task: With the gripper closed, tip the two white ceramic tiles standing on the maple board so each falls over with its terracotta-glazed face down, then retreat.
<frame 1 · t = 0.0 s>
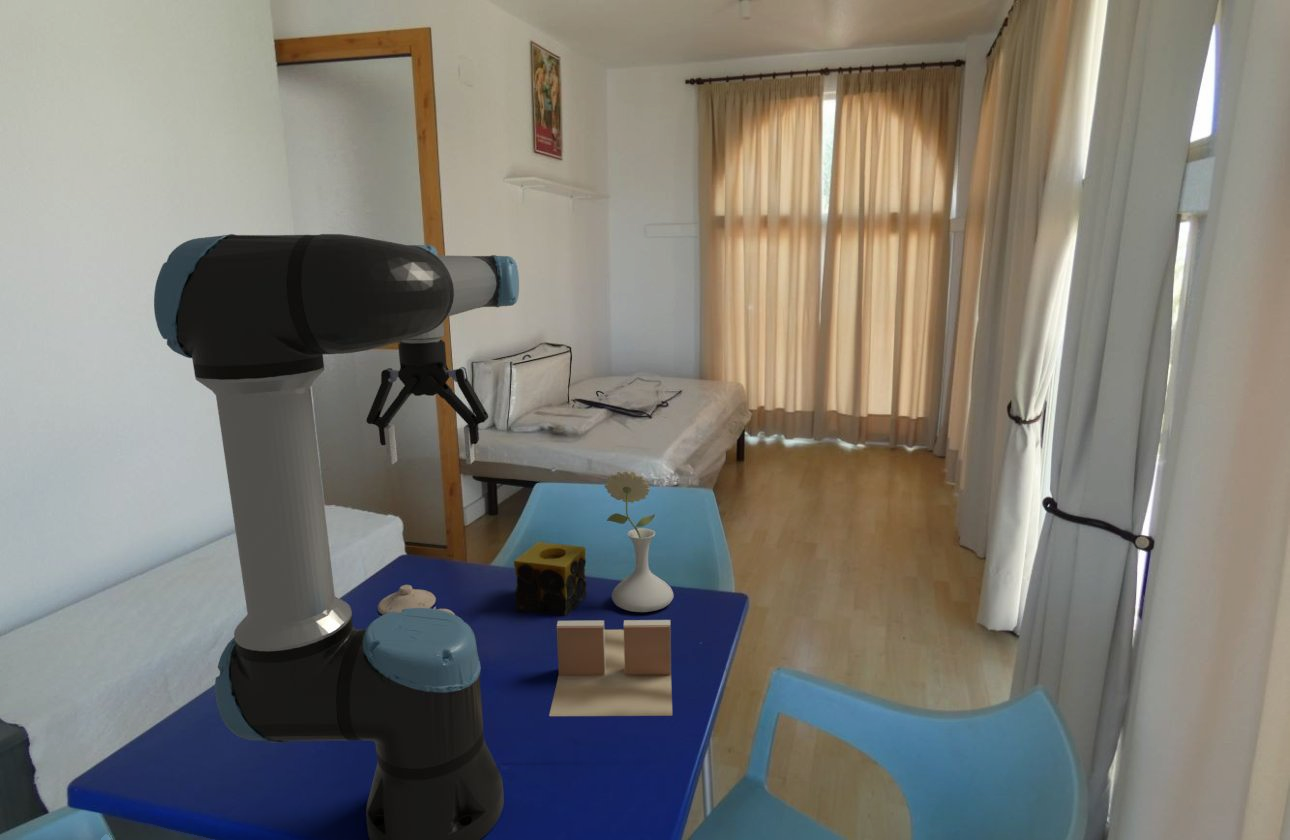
hand: (431, 462, 127), 28 cm above the table, fingers open, 13 cm apart
tile b: (647, 671, 111), point 1 cm above the table, touching board
tile a: (582, 672, 112), point 1 cm above the table, touching board
teacup with lid: (421, 653, 119), on the table
flower in vase: (638, 604, 135), on the table
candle: (552, 605, 135), on the table
board: (615, 671, 113), on the table
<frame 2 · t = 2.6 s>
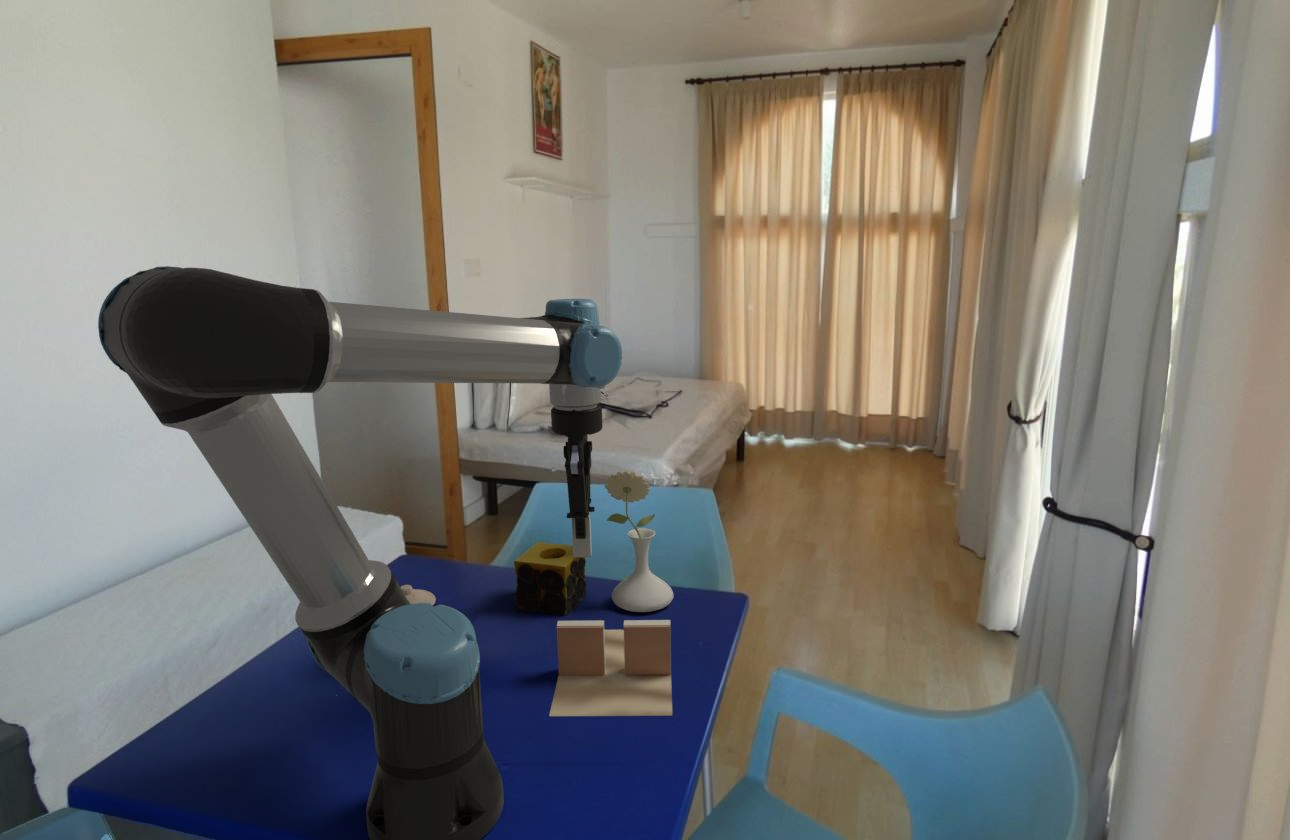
hand: (582, 555, 113), 17 cm above the table, fingers closed
nothing on the table moved.
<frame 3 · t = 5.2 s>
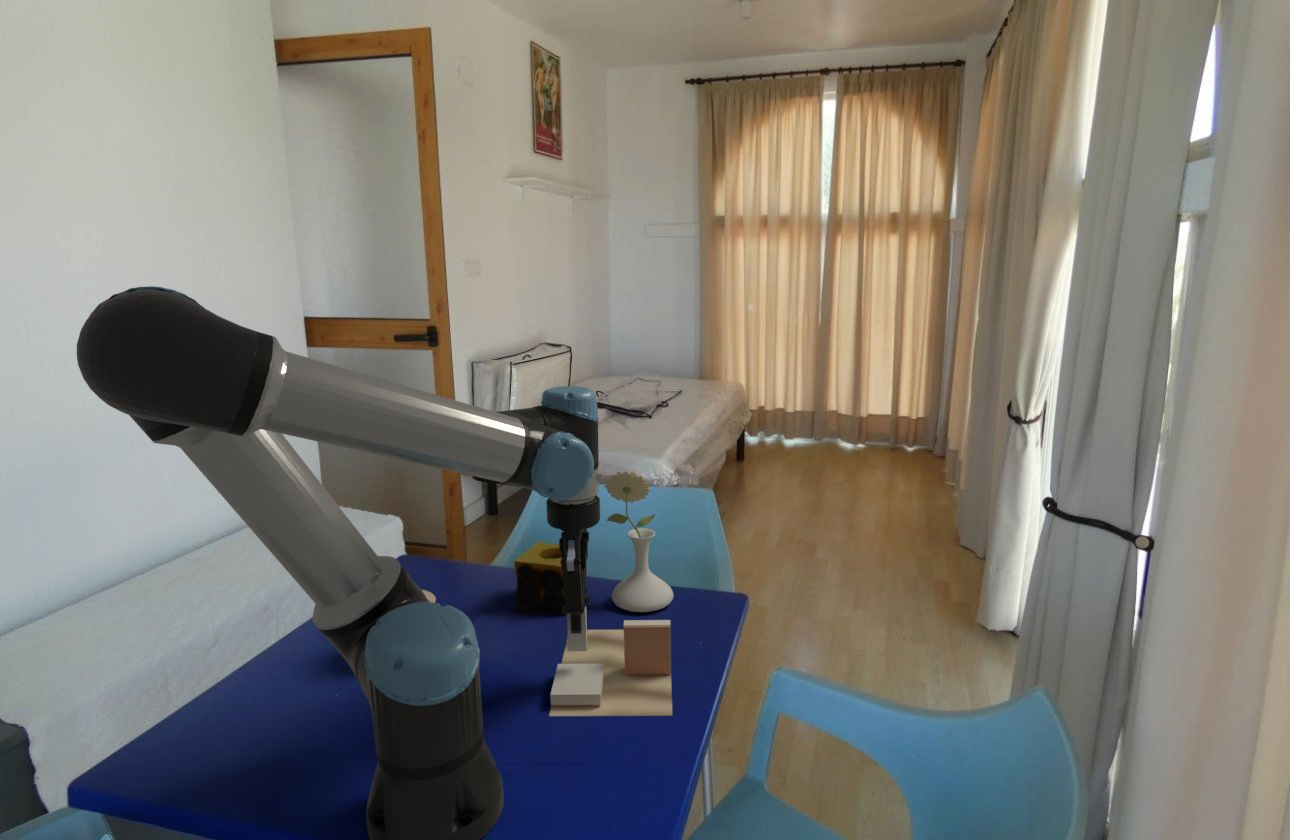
hand: (577, 648, 108), 6 cm above the table, fingers closed
tile a: (581, 669, 110), point 2 cm above the table, tilted 90°, touching board
everything else where it was.
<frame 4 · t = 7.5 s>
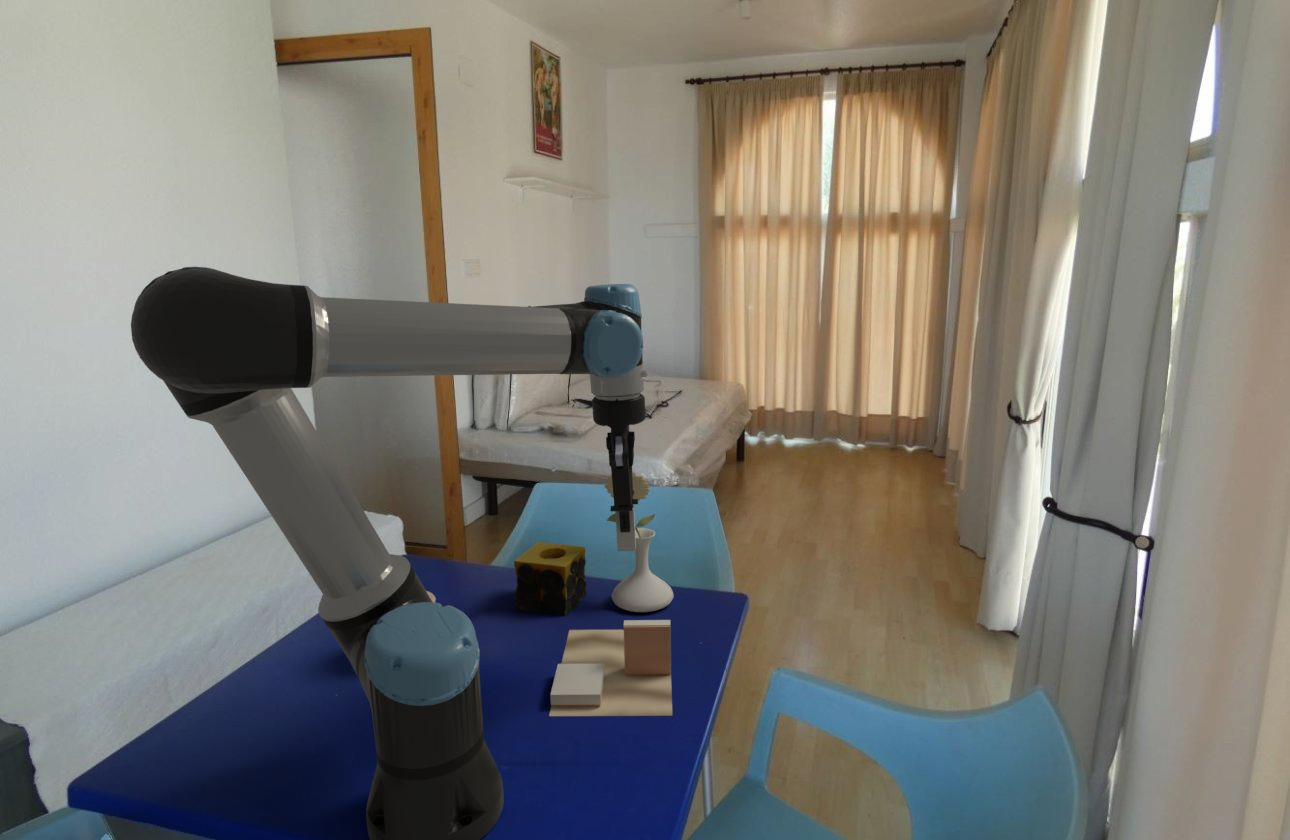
hand: (626, 548, 110), 20 cm above the table, fingers closed
nothing on the table moved.
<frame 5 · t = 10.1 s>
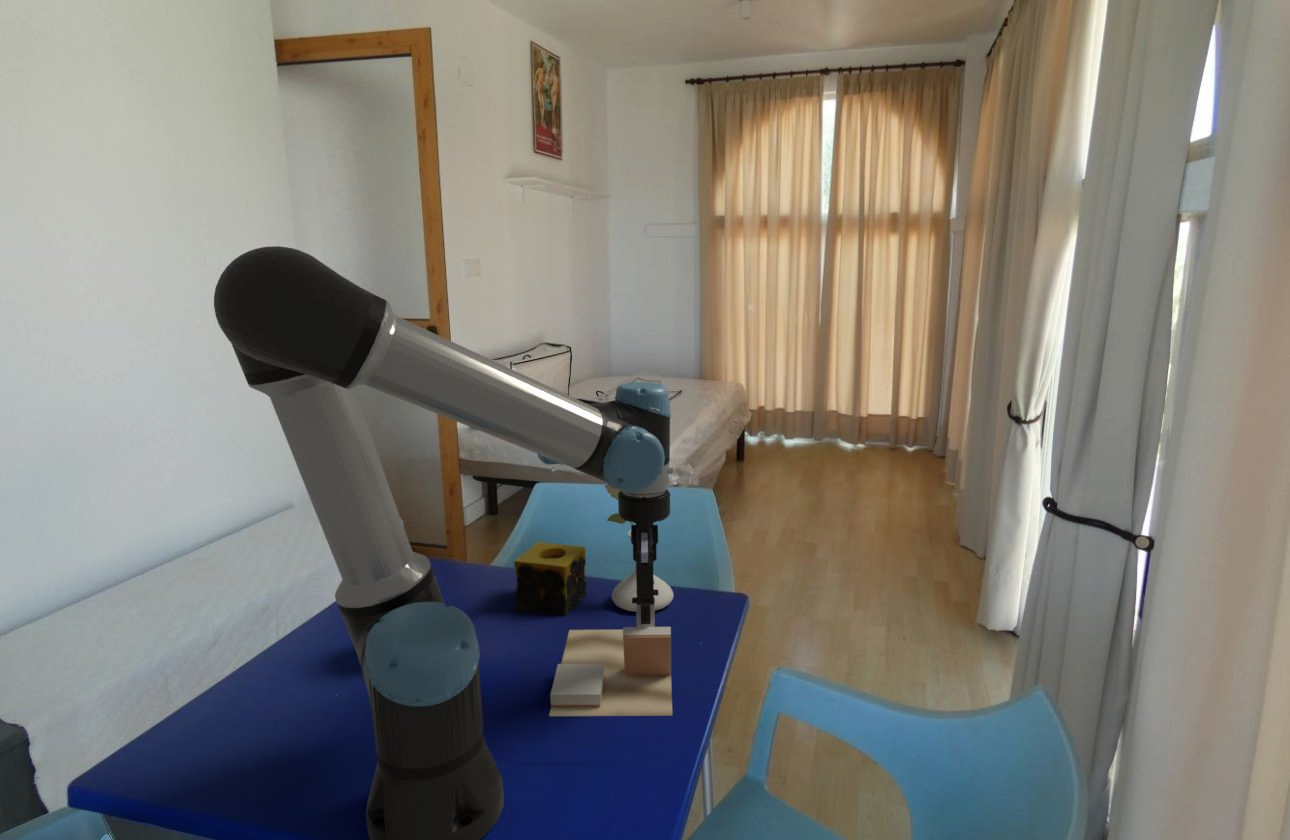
hand: (645, 639, 111), 6 cm above the table, fingers closed
tile b: (647, 670, 111), point 1 cm above the table, tilted 17°, touching board
everything else where it was.
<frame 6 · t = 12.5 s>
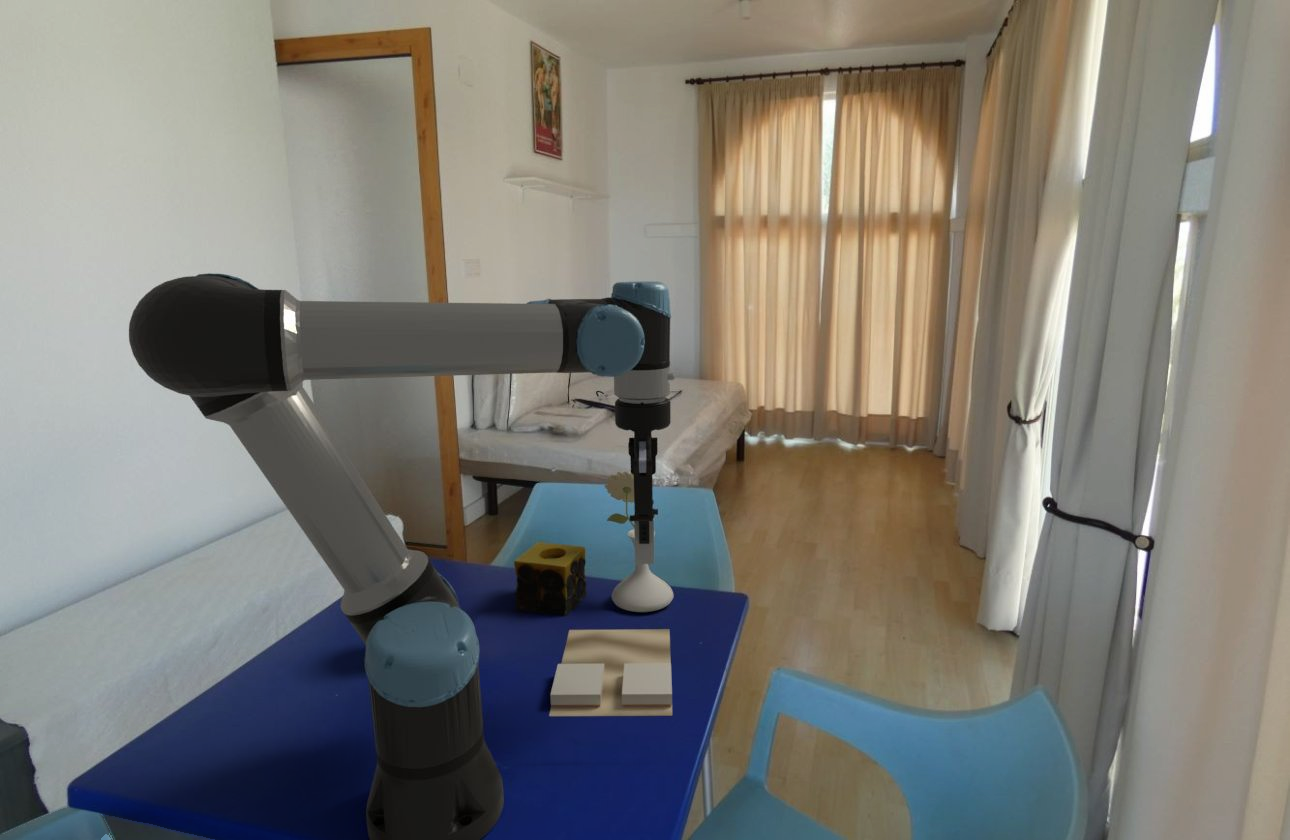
hand: (644, 561, 104), 20 cm above the table, fingers closed
tile b: (647, 669, 110), point 2 cm above the table, tilted 90°, touching board
everything else where it was.
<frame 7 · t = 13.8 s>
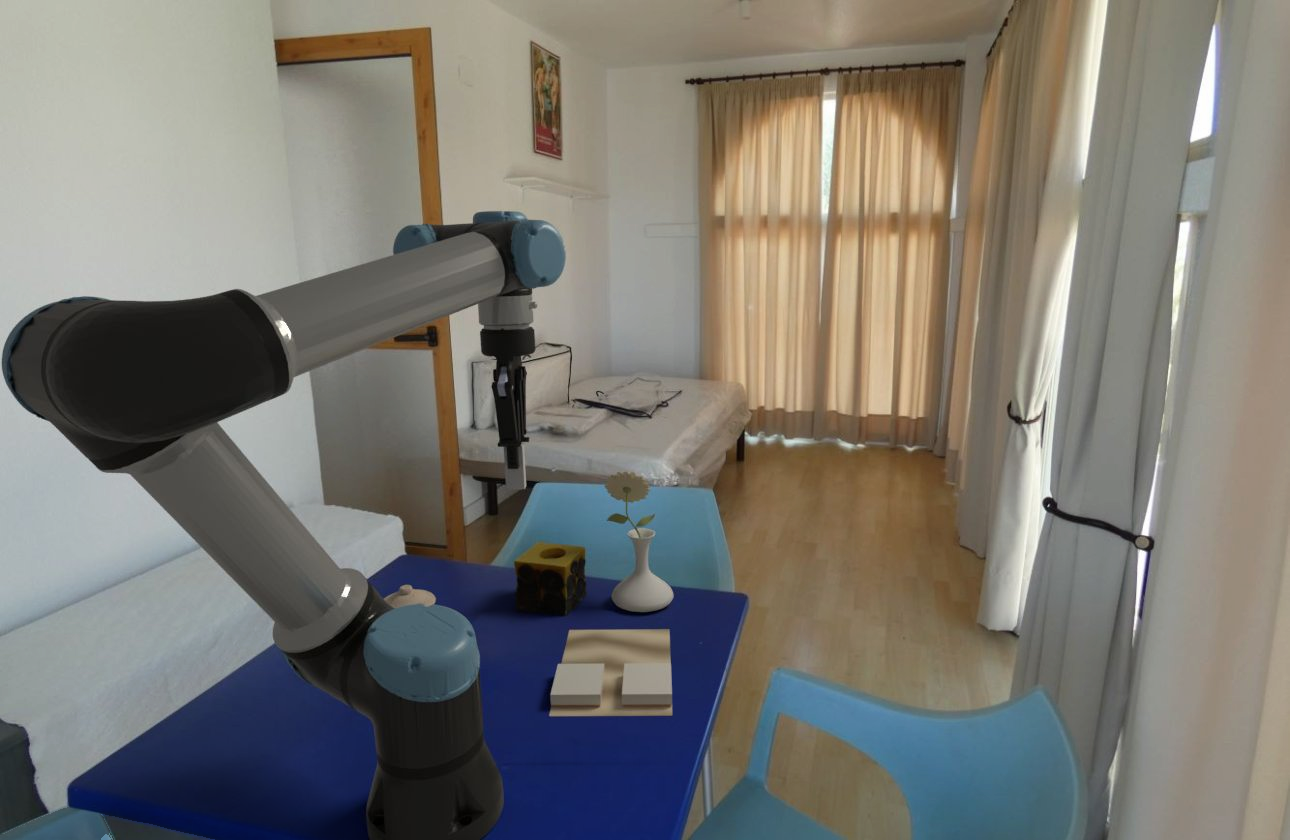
hand: (516, 487, 107), 29 cm above the table, fingers closed
nothing on the table moved.
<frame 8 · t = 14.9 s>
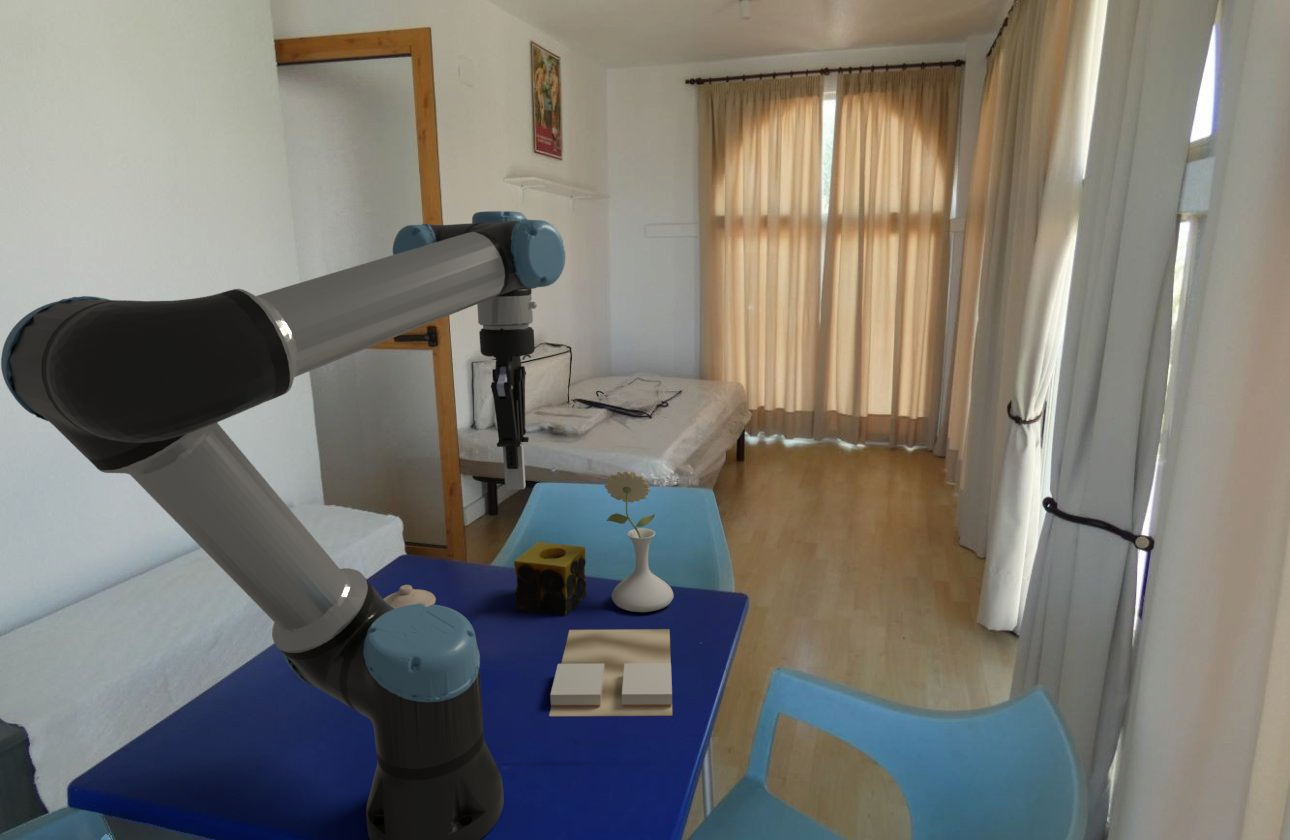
hand: (515, 487, 108), 29 cm above the table, fingers closed
nothing on the table moved.
at the end: tile a tilted 90°; tile b tilted 90°; tile a inside the target area on the board (5.4 cm from its centre), point 1.6 cm above the board's base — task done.
